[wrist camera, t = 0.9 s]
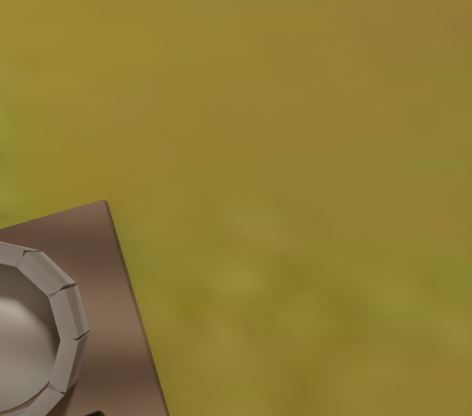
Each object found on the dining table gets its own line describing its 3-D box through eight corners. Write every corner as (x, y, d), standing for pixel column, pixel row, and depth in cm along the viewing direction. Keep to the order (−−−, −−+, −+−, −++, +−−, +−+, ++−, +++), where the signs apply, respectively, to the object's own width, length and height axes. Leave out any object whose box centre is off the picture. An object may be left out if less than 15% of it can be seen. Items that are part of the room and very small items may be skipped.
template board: (192, 496, 22) (192, 534, 19) (-67, 595, 20) (-112, 653, 17) (107, 201, 23) (94, 194, 20) (-146, 275, 22) (-201, 279, 19)
